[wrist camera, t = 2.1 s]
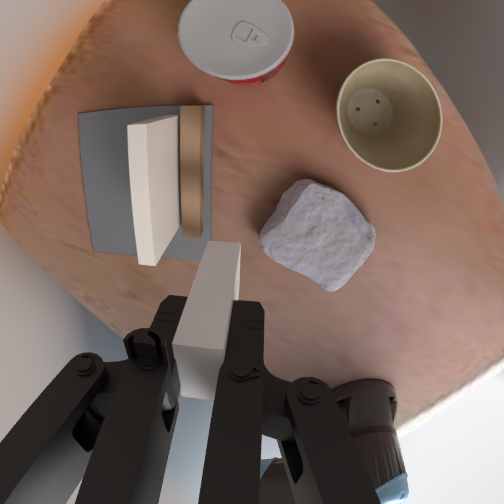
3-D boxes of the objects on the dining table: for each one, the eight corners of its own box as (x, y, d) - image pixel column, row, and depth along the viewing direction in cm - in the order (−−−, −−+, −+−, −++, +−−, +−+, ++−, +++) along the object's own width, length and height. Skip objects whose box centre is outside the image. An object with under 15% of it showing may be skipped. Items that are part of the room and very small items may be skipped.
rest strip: (203, 230, 35) (200, 237, 34) (186, 229, 35) (182, 236, 34) (204, 105, 29) (200, 105, 27) (185, 105, 29) (180, 105, 27)
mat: (211, 259, 38) (210, 261, 37) (95, 250, 38) (94, 251, 38) (213, 105, 29) (212, 105, 29) (79, 113, 29) (78, 113, 29)
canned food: (278, 92, 28) (283, 89, 18) (200, 80, 28) (167, 73, 18) (292, 24, 25) (304, -9, 15) (213, 13, 24) (188, -23, 14)
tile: (183, 220, 35) (155, 266, 26) (168, 220, 35) (137, 264, 26) (181, 114, 29) (146, 123, 20) (165, 114, 29) (125, 125, 21)
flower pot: (423, 95, 27) (458, 99, 20) (387, 171, 31) (413, 191, 25) (345, 48, 25) (365, 36, 19) (306, 130, 30) (317, 139, 24)
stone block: (297, 165, 34) (250, 239, 36) (308, 169, 29) (254, 254, 32) (374, 219, 37) (330, 284, 39) (392, 229, 32) (342, 302, 34)
